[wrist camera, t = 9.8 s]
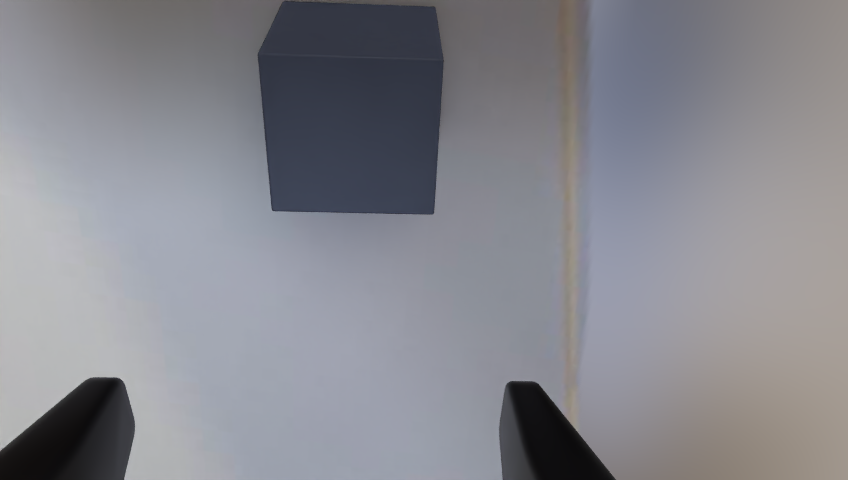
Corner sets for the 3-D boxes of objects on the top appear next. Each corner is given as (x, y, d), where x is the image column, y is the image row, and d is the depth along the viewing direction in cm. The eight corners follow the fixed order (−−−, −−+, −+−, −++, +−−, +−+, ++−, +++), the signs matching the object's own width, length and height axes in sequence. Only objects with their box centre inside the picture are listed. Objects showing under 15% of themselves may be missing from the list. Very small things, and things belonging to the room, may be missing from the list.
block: (435, 6, 18) (443, 58, 15) (428, 143, 21) (434, 215, 17) (282, 0, 18) (257, 52, 15) (291, 139, 20) (271, 211, 17)
